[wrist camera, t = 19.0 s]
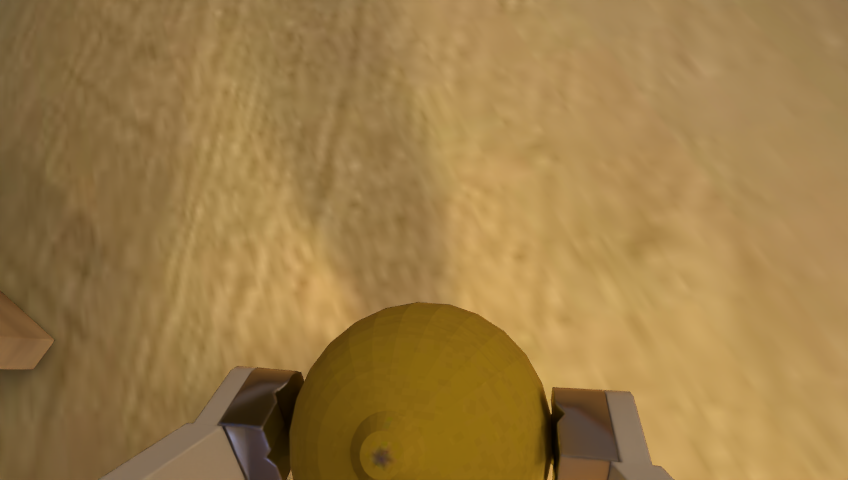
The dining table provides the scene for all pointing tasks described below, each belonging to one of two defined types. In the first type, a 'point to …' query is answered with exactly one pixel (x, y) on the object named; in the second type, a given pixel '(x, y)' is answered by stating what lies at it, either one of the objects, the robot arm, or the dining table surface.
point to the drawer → (20, 338)
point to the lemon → (421, 402)
